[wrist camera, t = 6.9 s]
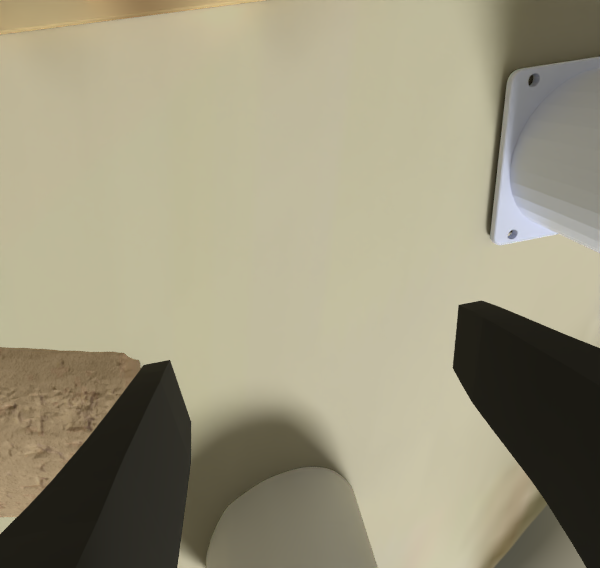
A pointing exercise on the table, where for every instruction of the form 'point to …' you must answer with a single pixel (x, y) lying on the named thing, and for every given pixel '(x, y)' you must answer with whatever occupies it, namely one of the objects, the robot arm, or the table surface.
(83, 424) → the clay tablet
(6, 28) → the rack
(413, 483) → the table surface
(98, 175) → the table surface
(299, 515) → the lumpy-topped squat cylinder
